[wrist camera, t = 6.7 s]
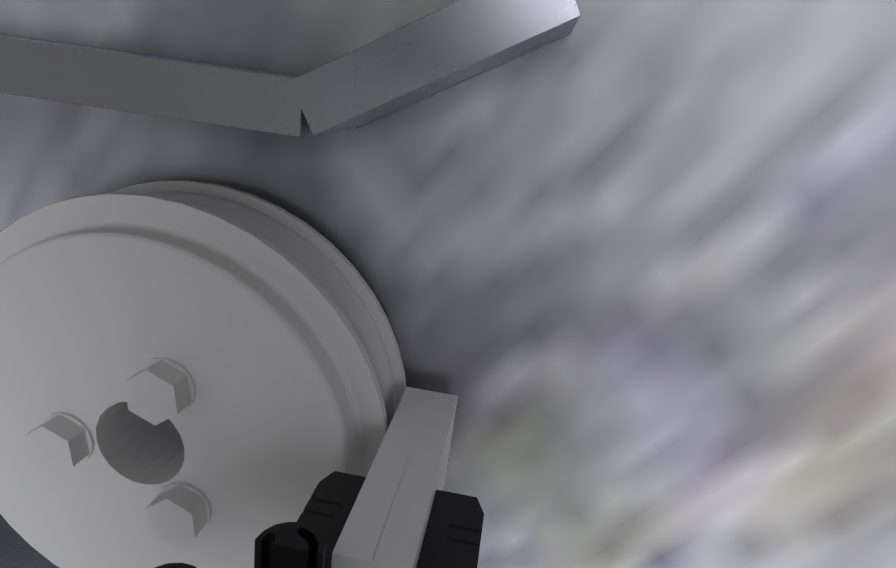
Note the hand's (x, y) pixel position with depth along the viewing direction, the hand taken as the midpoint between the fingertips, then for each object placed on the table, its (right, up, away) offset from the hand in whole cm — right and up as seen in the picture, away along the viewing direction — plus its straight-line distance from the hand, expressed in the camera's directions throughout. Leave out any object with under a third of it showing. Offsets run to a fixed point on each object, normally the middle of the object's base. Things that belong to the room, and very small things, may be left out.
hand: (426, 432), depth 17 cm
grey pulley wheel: (-7, +2, +2) cm, 7 cm away
